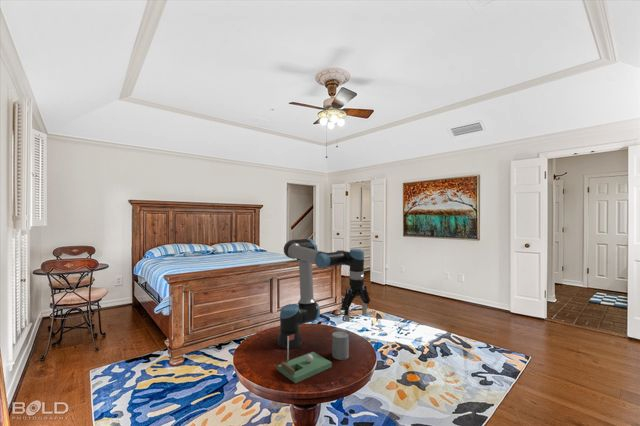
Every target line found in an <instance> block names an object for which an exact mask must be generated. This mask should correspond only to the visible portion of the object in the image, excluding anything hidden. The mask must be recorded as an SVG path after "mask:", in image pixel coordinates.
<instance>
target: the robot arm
mask: <svg viewBox="0 0 640 426" xmlns="http://www.w3.org/2000/svg"><path fill="white" fill-rule="evenodd" d="M283 253H284V255H285V256H286V257H287V258H289V259H293V260H296V261H297V262H298V269H299V270H298V272H299V275H298V276H299V294H300V295H299V296H300V298H299V300H298V302H297V303H290V304H289V303H288V304H284V305H283V306H282V307H281V309H280V314H279V320H280V321H279V323H280V324H279V325H280V327H279V328H280V329H279V334H278V338H277V342H276V344H277V346H278V347H279V348H281V349H285V350H286V349H287V336H290V335H293V334H294V339H293V340H290V341H289V349H290V350H291V349H297V348H298V347H300V346H301V345H302V336H301V334H300V325H305V324H309V323H312V322H315V321H317V320H318V319H319V318H320V314H321V309H320V306H319V303H317V300H316V299H315V298H314V280H313V264H314V265H315V266H316V267H317V268H319V269H326V268H331V267H338V266H347V267H349V286H350V289H349V288H346V289H345V294H344V297H343V301H342V303H341V309H343V311H344V313H343V314H344V321H346V322H348V323H349V322H351V317H350V316H351V309H350V307H351V305H352V303H353V301H354V299H355V298H356V297H359V298H360V299H361V301H362V303H361V315H362V316H365V317H367V316H368V315H367V313H368V305H369V304H370V302H371V298H370V296H369V293H368V290H367V285H364V278H365V277H364V276H365V275H364V274H365V272H364V271H365V252H364V250H363V249H361V248H360V249H359V248H358V249H357V248H352V249H350V250H349V251H346V250H339V249H338V250H336V251H332V252H326V251H325V252H324V251H321V250H318V245H317V243H316V242H315V240H314V239H312V238H301V239H300V238H299V239H291V240H288V241H287V242H286V243H285V244H284V246H283Z"/></svg>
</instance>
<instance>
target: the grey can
mask: <svg viewBox="0 0 640 426" xmlns="http://www.w3.org/2000/svg"><path fill="white" fill-rule="evenodd" d="M349 336H350V334H349V333H348V332H346V331H343V330H342V331H341V330H338V331H334V332H332V342H331V343H332V344H331V345H332V347H331V350H332V351H331V352H332V353H331V356H332V358H334V359H335V360H339V361H343V360H347V359H348V358H349V357H350V355H349V352H350V351H349V349H350V346H349V344H350V343H349V339H350V337H349Z"/></svg>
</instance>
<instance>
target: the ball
mask: <svg viewBox="0 0 640 426" xmlns="http://www.w3.org/2000/svg"><path fill="white" fill-rule="evenodd" d="M307 354H308V353H307ZM312 360H313V356H312V355H311V354H308V355H307V356H306V361H307V362H312Z"/></svg>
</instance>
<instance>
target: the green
mask: <svg viewBox="0 0 640 426" xmlns="http://www.w3.org/2000/svg"><path fill="white" fill-rule="evenodd" d="M293 339H294V334H293V335H290V336H287V350H286V356H287V357H286V361H285V362H284V361H282V362H281V363H280V364H278V365H277V368H276V370H277V371H278V372H279V373H281V374H282V375H283V376H285V377H286V378H287V379H289V380H291V381H292V382H293V383H294V384H297V383H299V382H302V381H304V380H306V379H309V378H311V377H313V376H315V375H318V374H319V373H321V372H324V371H326V370H328V369H331V368H332V367H333V362H332V361H331V360H328V359H326V358H325V357H323V356H321V355H320V354H318V353H316V352H314V351H311V352H308V353H306V354H303V355H300V356H297V357H295V358H293V359H290V356H289V355H290V352H289V351H290V350H289V341H290V340H293ZM308 354H311V355H312V356H313V360H312V362H307V361H306V356H307V355H308Z"/></svg>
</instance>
